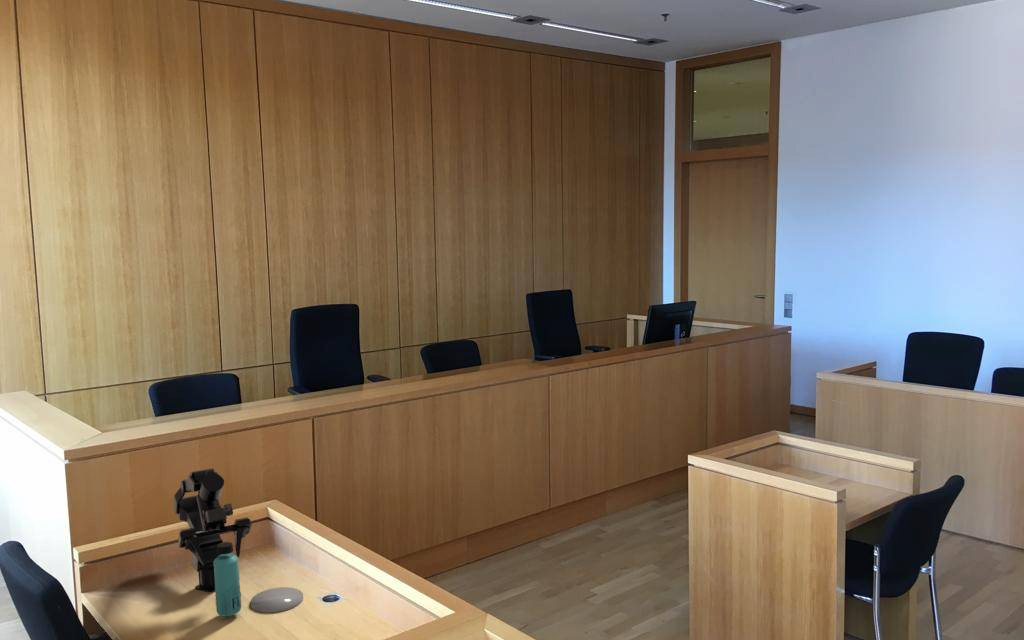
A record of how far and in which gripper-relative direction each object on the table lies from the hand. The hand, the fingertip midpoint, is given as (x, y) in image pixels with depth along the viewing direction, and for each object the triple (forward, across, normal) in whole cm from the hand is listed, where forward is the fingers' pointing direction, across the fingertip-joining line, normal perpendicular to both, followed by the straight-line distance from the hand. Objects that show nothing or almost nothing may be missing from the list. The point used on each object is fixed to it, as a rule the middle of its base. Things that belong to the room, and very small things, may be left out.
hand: (221, 560), depth 224 cm
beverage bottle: (+14, 0, +5) cm, 15 cm away
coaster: (+12, +13, +6) cm, 19 cm away
